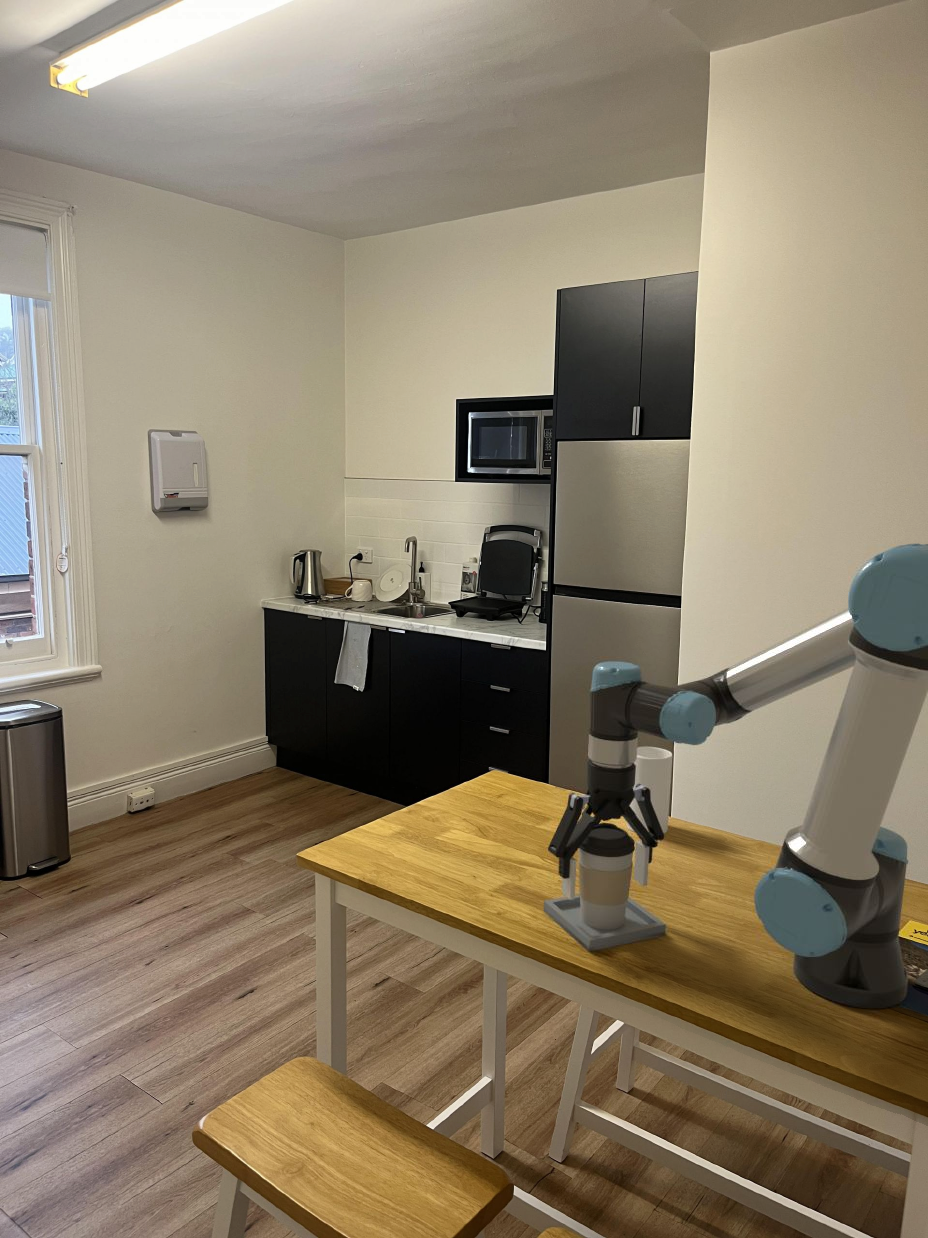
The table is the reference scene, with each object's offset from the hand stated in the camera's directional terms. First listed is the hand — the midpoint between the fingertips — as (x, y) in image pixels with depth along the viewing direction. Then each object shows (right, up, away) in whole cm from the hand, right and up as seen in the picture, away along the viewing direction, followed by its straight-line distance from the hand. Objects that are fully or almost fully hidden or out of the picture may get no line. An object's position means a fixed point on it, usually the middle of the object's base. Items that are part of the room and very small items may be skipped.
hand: (604, 889), depth 145 cm
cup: (+15, 0, +42) cm, 45 cm away
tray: (0, -6, +1) cm, 6 cm away
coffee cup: (0, -5, +1) cm, 5 cm away
